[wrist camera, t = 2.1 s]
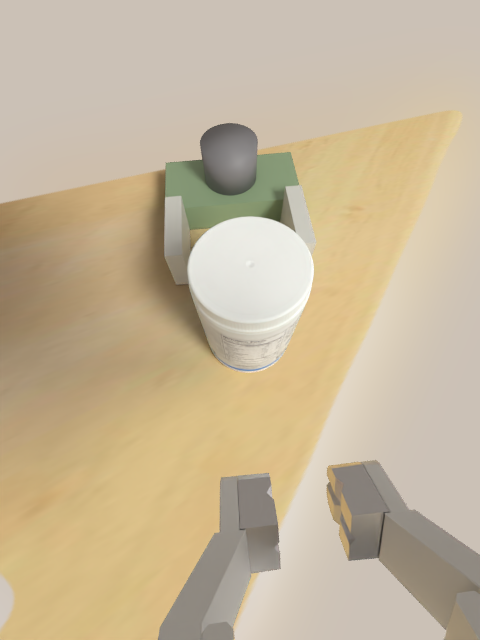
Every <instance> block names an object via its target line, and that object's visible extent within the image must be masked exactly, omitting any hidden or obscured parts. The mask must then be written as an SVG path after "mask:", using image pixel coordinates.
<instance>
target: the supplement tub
mask: <svg viewBox="0 0 480 640" xmlns="http://www.w3.org/2000/svg"><path fill="white" fill-rule="evenodd" d="M187 274H188V281H189V289H190V293H191V296H192V299H193V302H194V305H195V307H196V310H197V313H198V315H199V318H200V321H201V324H202V326H203V329H204V332H205V335H206V338H207V340H208V343H209V346H210V348H211V350H212V352H213V354H214V355H215V357H216V358H217V359H218V360H219V361H220V362H221V363H222V364H224V365H225V366H226V367H228V368H230V369H232V370H235V371H239V372H244V373H252V372H258V371H262V370H264V369H267V368H269V367H270V366H272V365H273V364H275V363H276V362H277V361H278V360H279V359H280V358H281V356H282V355H283V354H284V352H285V350H286V348H287V346H288V343H289V341H290V339H291V337H292V334H293V332H294V330H295V328H296V325H297V323H298V321H299V319H300V316H301V314H302V312H303V310H304V307H305V305H306V302H307V300H308V298H309V295H310V291H311V286H312V281H313V275H314V266H313V260H312V256H311V253H310V251H309V249H308V247H307V245H306V244H305V242H304V241H303V240H302V238H301V237H300V236H299V235H298V234H297V233H295V232H294V231H293V230H292V229H290V228H289V227H287V226H286V225H284V224H282V223H280V222H277V221H275V220H272V219H268V218H263V217H253V216H247V217H238V218H233V219H229V220H226V221H223V222H221V223H219V224H217V225H215V226H213V227H212V228H210V229H209V230H208V231H206V232H205V233H204V234H203V235H202V236H201V237H200V238H199V239H198V241H197V242H196V243H195V245H194V247H193V249H192V250H191V253H190V256H189V259H188V265H187Z"/></svg>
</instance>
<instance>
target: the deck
mask: <svg viewBox="0 0 480 640" xmlns="http://www.w3.org/2000/svg"><path fill="white" fill-rule="evenodd" d="M257 143H258V142H257V136H256V134H255V133H254V132H253V131H252V130H251V129H249V128H248V127H246V126H243V125H240V124H233V123H227V124H220V125H217V126H214V127H212V128H210V129H209V130H207V131H206V132H205V133H204V134H203V136H202V138H201V140H200V146H201V153H202V159H203V160H194V161H183V162H170V163H166V181H165V234H164V257H165V260H166V262H167V264H168V267H169V269H170V271H171V274H172V276H173V278H174V281H175V283H176V285H181V284H189V281H188V274H187V265H188V259H189V256H190V253H191V247H190V230H193V229H204V228H212V227H213V226H215V225H217V224H219V223H221V222H223V221H226V220H229V219H233V218H238V217H247V216H253V217H263V218H268V219H272V220H275V221H277V222H280V223H282V224H284V225H286V226H287V227H289V228H290V229H292V230H293V231H294V232H295V233H297V234H298V235H299V236H300V237H301V238H302V240H303V241H304V242H305V244H306V245H307V247H308V249H309V251H310V253H311V256H312V254H313V251H314V248H315V245H316V239H315V236H314V232H313V228H312V224H311V220H310V217H309V213H308V209H307V205H306V201H305V198H304V194H303V190H302V186H301V185H299V183H298V179H297V175H296V171H295V167H294V163H293V159H292V156H291V152H287V153H275V154H264V155H257Z"/></svg>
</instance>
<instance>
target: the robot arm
mask: <svg viewBox="0 0 480 640" xmlns="http://www.w3.org/2000/svg"><path fill="white" fill-rule="evenodd" d="M327 476H328V479H329V481H330V482H329V483H328V485H327V498H328V504H329V507H330V511H331V514H332V516H333V519H334V521H336V522H337V523H338V524H339V525H340V530H339V536H340V539H341V542H342V544H343V547H344V550H345V552H346V555H347V558H348V560H349V561H351V560H362V559H374V558H379V561H380V562H381V563H382V564H383V565H384V566H385V567H386V568H387V569H388V570H389V571H390V572H391V573H392V574H393V575H394V576H395V577H396V578H397V580H398V581H399V582H400V583H401V584H402V585H403V586H404V587H405V588H406V589H407V590H408V591H409V592H410V593H411V594H412V595H413V596H414V597H415V598H416V599H417V600H418V601H419V603H420V604H421V605H422V606H423V607H424V608H425V609H426V610H427V611H428V612H429V613H430V614H431V615H432V616H433V617H434V618H435V619H436V620H437V621H438V622H439V623H440V624H441V625H442V627H443V628H444V629H445V630H446V632H445V635H444V639H443V640H480V555H479V554H478V553H476V552H475V551H473V550H472V549H470V548H469V547H468V546H466V545H465V544H463V543H462V542H460V541H459V540H457V539H456V538H455V537H453V536H452V535H450V534H449V533H448V532H446V531H445V530H443V529H442V528H440V527H439V526H437V525H436V524H435V523H433V522H432V521H430V520H429V519H428V518H426V517H425V516H423V515H422V514H420V513H419V512H418V511H416V510H409V508H408V507H407V505H406V504H405V502H404V500H403V499H402V497H401V496H400V494H399V493H398V491H397V490H396V488H395V486H394V485H393V483H392V482H391V480H390V479H389V477H388V475H387V474H386V472H385V471H384V469H383V468H382V466H381V464H380V463H379V462H378V461H376V460H375V461H365V462H354V463H346V464H340V465H331V466H328V468H327ZM278 543H279V532H278V522H277V516H276V510H275V504H274V499H273V498H272V490H271V481H270V476H269V473H265V474H253V475H241V476H232V477H221V481H220V532H219V533H214V535H213V537H212V539H211V540H210V542H209V544H208V545H207V547H206V549H205V551H204V552H203V554H202V556H201V558H200V559H199V561H198V563H197V564H196V566H195V568H194V570H193V571H192V573H191V575H190V577H189V578H188V580H187V582H186V583H185V585H184V587H183V589H182V590H181V592H180V594H179V596H178V597H177V599H176V601H175V602H174V604H173V606H172V608H171V609H170V611H169V613H168V615H167V616H166V618H165V620H164V621H163V623H162V625H161V627H160V631H159V637H158V640H235V637H234V631H233V628H232V627H233V625H234V622H235V619H236V616H237V614H238V611H239V608H240V605H241V603H242V600H243V597H244V594H245V592H246V589H247V586H248V583H249V581H250V578H251V573H258V572H264V571H271V570H277V569H281V568H280V551H279V545H278Z"/></svg>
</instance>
